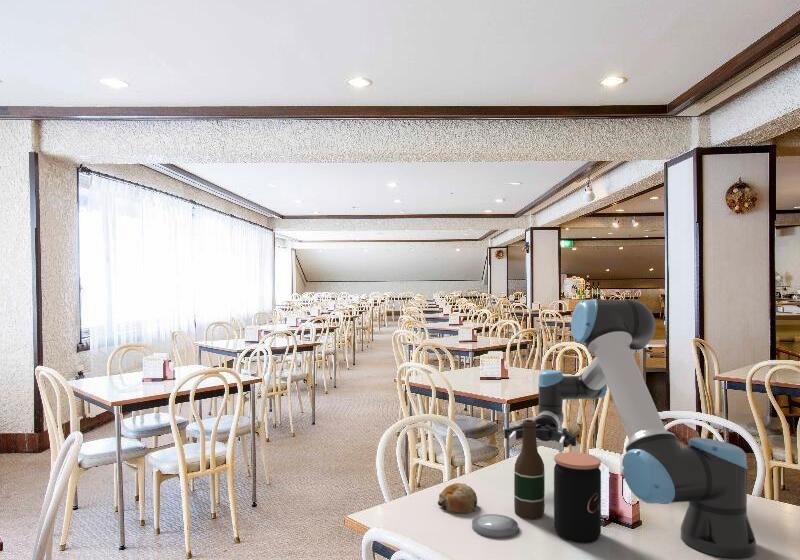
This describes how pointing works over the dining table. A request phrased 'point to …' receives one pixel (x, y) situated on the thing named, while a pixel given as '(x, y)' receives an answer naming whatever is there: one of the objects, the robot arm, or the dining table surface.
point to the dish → (495, 526)
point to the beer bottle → (529, 476)
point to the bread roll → (458, 498)
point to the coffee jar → (577, 497)
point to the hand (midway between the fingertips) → (534, 444)
